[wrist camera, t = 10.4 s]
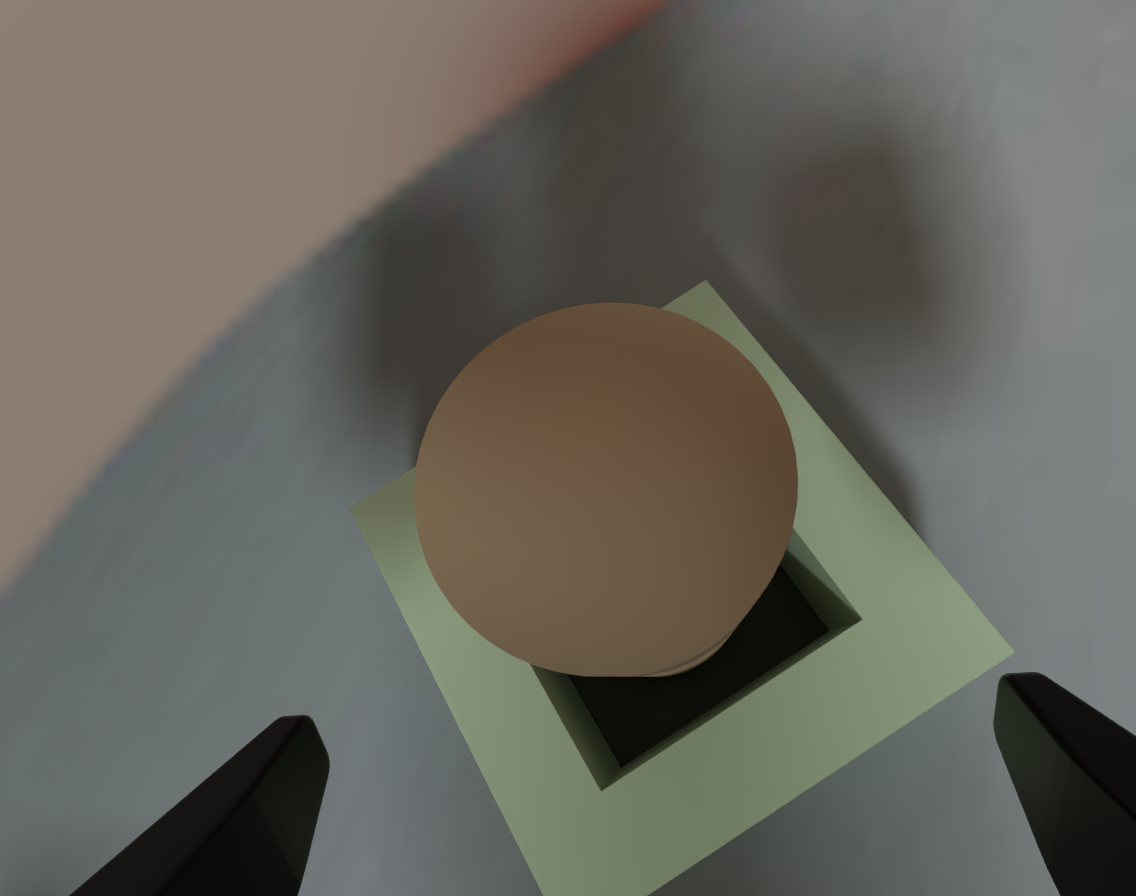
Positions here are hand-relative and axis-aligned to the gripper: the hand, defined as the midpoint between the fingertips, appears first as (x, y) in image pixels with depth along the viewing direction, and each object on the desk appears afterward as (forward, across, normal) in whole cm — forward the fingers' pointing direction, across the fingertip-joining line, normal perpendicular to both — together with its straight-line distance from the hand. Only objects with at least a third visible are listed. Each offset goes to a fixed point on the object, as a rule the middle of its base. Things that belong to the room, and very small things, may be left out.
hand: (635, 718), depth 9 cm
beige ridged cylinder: (+9, 0, +5) cm, 10 cm away
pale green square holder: (+9, 0, +5) cm, 10 cm away
